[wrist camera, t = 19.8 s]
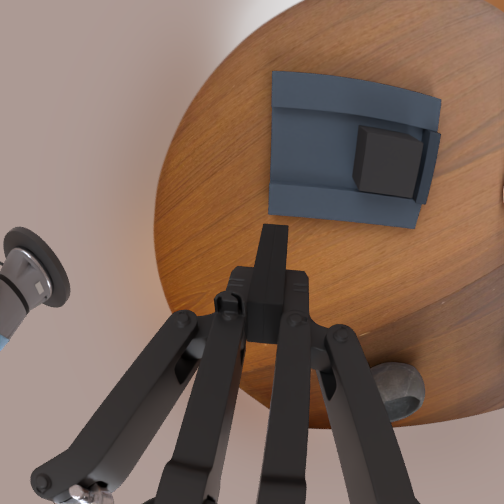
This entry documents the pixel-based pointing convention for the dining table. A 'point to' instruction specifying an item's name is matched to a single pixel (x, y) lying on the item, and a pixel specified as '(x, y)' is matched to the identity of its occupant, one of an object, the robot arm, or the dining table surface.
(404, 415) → the bowl
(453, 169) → the dining table surface
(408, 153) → the black block
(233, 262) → the dining table surface
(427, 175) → the dock pad
